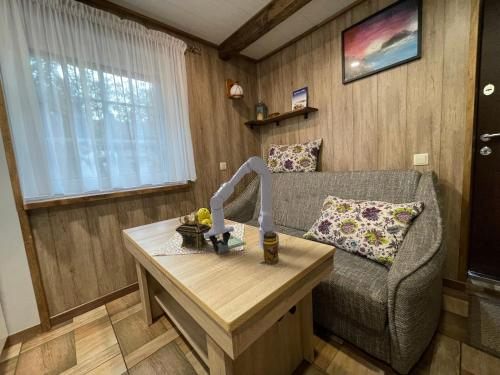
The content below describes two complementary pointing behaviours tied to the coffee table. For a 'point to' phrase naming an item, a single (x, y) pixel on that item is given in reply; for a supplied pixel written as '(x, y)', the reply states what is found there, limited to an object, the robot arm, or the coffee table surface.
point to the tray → (233, 241)
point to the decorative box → (193, 233)
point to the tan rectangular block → (223, 254)
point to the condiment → (270, 250)
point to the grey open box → (222, 247)
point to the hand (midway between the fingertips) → (220, 249)
